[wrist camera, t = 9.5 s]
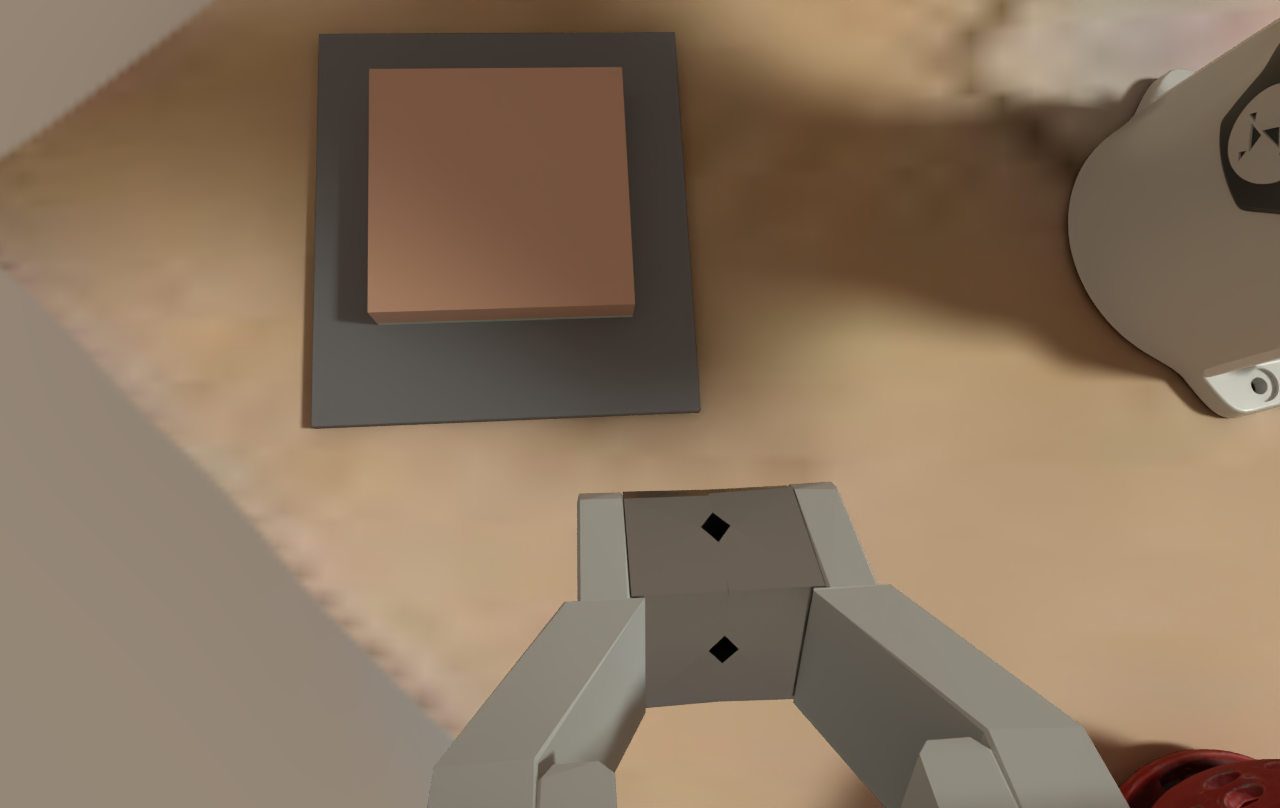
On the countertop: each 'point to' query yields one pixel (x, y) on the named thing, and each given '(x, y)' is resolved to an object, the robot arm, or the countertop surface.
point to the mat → (502, 350)
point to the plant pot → (1205, 781)
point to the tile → (498, 195)
